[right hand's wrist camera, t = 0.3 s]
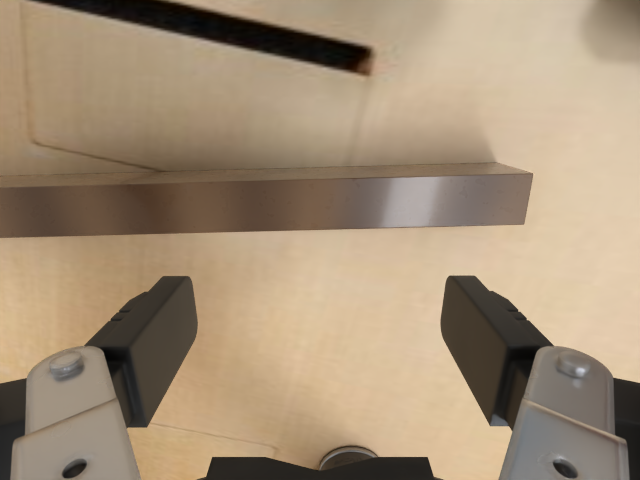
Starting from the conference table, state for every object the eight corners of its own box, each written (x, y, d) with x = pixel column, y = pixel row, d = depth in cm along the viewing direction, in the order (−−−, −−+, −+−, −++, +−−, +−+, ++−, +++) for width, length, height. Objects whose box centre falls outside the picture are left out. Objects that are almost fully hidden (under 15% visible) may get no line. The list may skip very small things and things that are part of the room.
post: (497, 162, 37) (534, 173, 31) (491, 206, 38) (524, 224, 32) (-157, 180, 37) (-252, 194, 31) (-136, 222, 39) (-222, 243, 33)
